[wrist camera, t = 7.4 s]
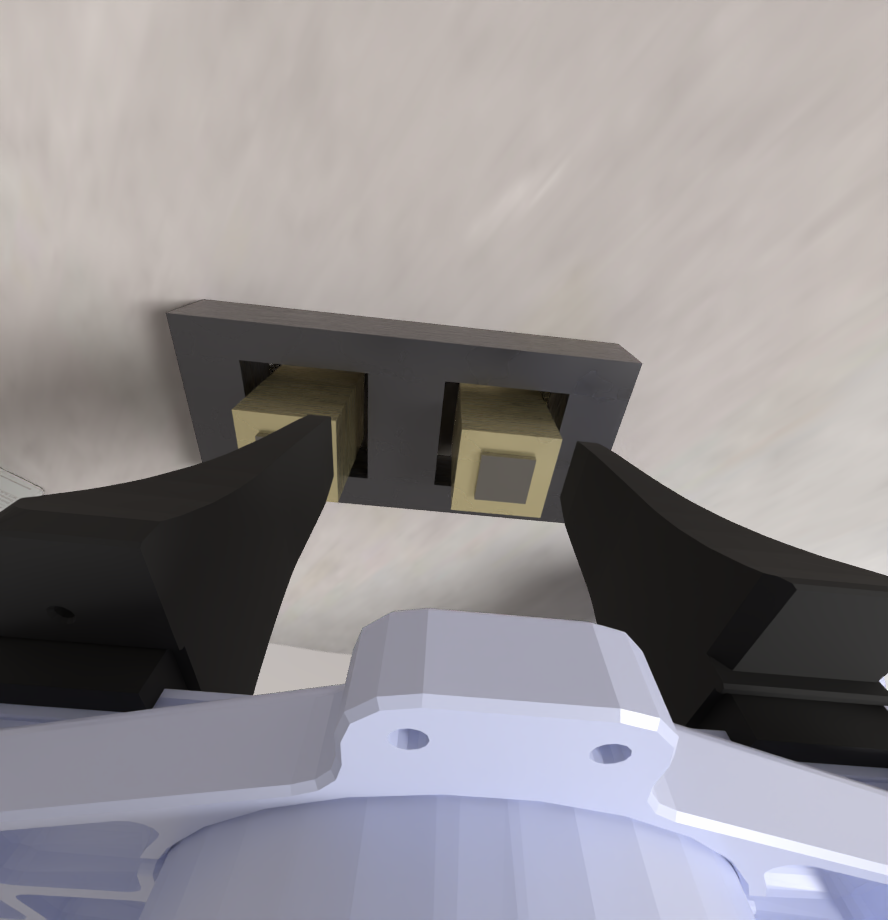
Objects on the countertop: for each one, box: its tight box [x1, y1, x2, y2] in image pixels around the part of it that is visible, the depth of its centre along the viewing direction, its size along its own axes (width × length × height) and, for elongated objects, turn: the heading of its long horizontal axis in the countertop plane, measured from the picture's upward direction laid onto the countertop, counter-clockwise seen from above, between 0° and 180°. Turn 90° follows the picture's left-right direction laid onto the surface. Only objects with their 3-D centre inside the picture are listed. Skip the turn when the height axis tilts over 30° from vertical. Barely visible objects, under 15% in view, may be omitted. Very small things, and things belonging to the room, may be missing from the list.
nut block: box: [232, 365, 364, 502], centre depth 19 cm, size 4×4×6 cm
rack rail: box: [166, 299, 642, 523], centre depth 21 cm, size 20×9×3 cm, turn 84°
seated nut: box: [451, 383, 563, 518], centre depth 20 cm, size 4×4×6 cm
